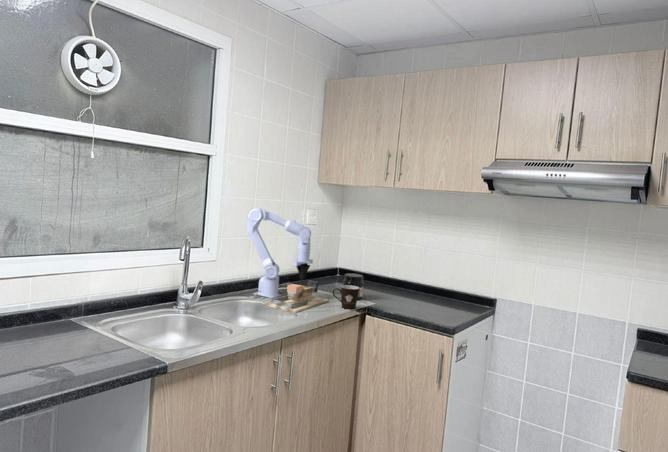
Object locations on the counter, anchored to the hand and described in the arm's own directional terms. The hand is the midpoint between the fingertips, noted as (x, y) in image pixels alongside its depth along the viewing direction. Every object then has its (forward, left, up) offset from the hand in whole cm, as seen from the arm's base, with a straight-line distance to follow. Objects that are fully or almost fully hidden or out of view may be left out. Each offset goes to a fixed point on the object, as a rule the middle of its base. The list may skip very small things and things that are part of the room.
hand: (302, 279), depth 230 cm
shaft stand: (+5, -10, -9) cm, 15 cm away
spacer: (+5, -14, -3) cm, 15 cm away
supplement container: (+18, +20, -10) cm, 29 cm away
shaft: (+5, -7, -5) cm, 10 cm away
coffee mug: (+25, 0, -10) cm, 27 cm away
